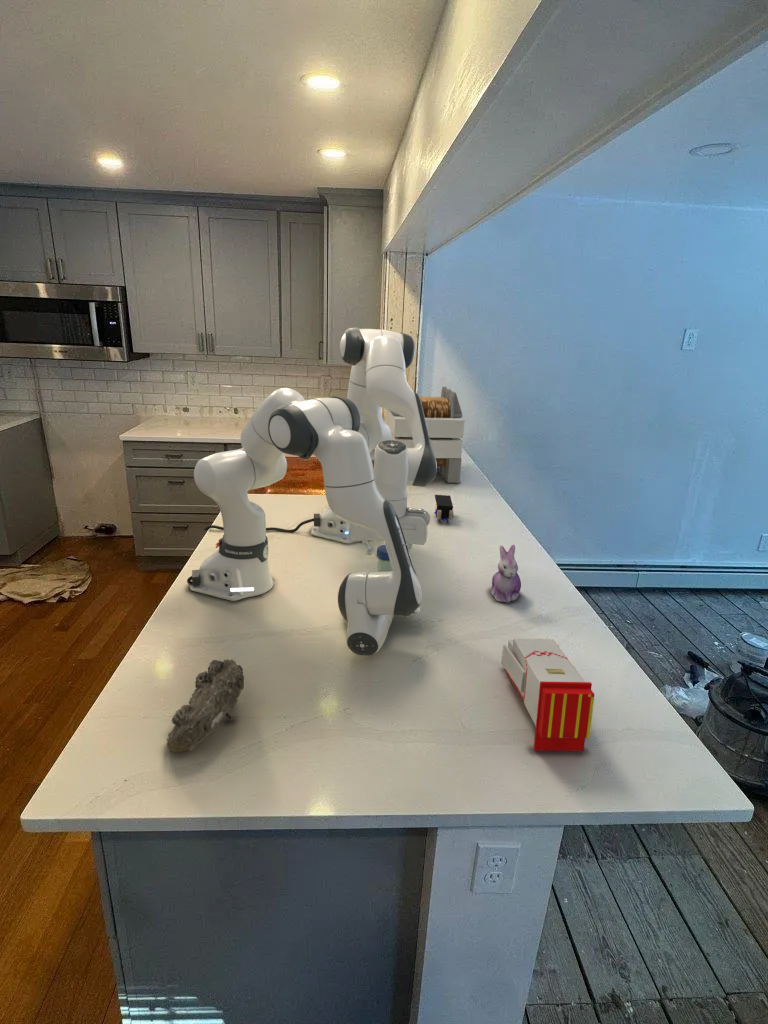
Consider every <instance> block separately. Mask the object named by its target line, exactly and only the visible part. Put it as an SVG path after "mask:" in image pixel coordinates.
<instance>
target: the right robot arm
mask: <svg viewBox="0 0 768 1024" xmlns="http://www.w3.org/2000/svg"><path fill="white" fill-rule="evenodd" d="M339 352H340V355H341V359H342V361H343V362H344V363H346V364H348V365H351V367H350V372H349V380H348V386H347V387H348V388H347V395H346V398H347V399H349V400H351V401H352V402H353V403H354V404H355V405H356V407H357V409H358V411H359V414H360V428H359V431H358V432H359V433H360V434H362V435H363V436H364V438H365V440H366V442H367V445H368V448H369V452H370V455H371V459H372V464H373V469H374V476H375V482H376V486H377V489H378V491H379V493H380V494H381V496H382V497H383V498H384V500H386V501H388V502H390V503H391V504H392V505H393V507H394V509H395V511H396V513H397V516H398V519H399V522H400V525H401V528H402V531H403V535H404V538H405V541H406V545H407V548H408V552H409V553H410V552H411V550H412V549H413V546H414V545H415V546H416V545H417V546H424V545H425V544H426V543H427V541H428V526H429V524H430V522H431V514H430V513H429V512H428V511H427V510H425V508H415V507H408V490H407V486H414V487H415V486H416V487H422V488H423V487H426V486H428V485H430V483H432V482H433V481H434V480H435V479H436V477H437V472H438V468H437V463H436V459H435V456H434V452H433V449H432V446H431V442H430V438H429V434H428V429H427V425H426V420H425V416H424V412H423V408H422V404H421V401H420V398H419V397H420V395H419V393H418V392H416V391H414V390H413V389H412V388H411V386H410V384H409V383H408V380H407V370H406V369H408V368H409V367H411V365H412V364H413V361H414V358H415V356H416V345H415V340H414V338H413V336H411V335H410V334H407V333H404V332H397V331H392V330H388V329H382V328H379V329H376V328H359V327H350V328H347V329H346V330H345V331H344V332H343V333H342V336H341V339H340V341H339ZM382 409H385V410H386V411H387V410H390V411H392V412H395V413H397V414H399V415H401V416H403V417H404V418H405V419H406V420H407V421H408V422H409V425H410V429H411V433H412V438H413V442H414V447H415V448H407V446H406V445H405V444H404V443H402V442H399V441H395V440H392V433H391V430H390V428H389V427H388V425H387V423H386V421H385V420H384V419H383V414H382ZM312 522H313V526H312V528H311V530H310V533H311V536H315V537H319V538H323V539H326V540H330V541H336V542H339V543H343V544H352V543H357V542H361V544H362V545H363V547H364V549H365V555H366V556H372V555H373V553H374V552H373V551H374V547H373V546H370V544H369V541H372V542H373V541H374V542H375V541H376V542H384V541H383V539H382V538H381V537H380V536H379V535H378V534H377V533H375V532H373V531H371V530H369V529H367V528H364V527H361V526H358V525H354V524H351V523H348V522H346V521H344V520H342V519H340V518H339V517H338V516H336V515H335V514H334V513H333V512H332V511H331V509H330V508H329V507H328V508H326V509H325V510H323V512H321V514H320V513H313V518H310V519H306V520H304V521H301V522H300V523H298V525H297V526H296V527H295V528H293V529H292V528H291V529H284V528H281V527H272V526H271V527H266V532H267V531H276V532H282V533H295V532H297V531H298V530H299V529H300V528H301V527H302V526H304V525H306V524H309V523H312ZM210 529H216V530H220V531H224V528H223V526H220V525H214V524H211V525H208V526H206V527H205V528H204V529H203V531H209V530H210Z"/></svg>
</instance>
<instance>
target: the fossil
mask: <svg viewBox="0 0 768 1024" xmlns="http://www.w3.org/2000/svg"><path fill="white" fill-rule="evenodd" d="M243 670H244V669H243V667H242V665H240V664H237V662H236V661H235V660H234V659H232V658H231V659H227V658H226V659H224V660H223V661H222V660H217V659H212V660H211V661H210V663H209V665H208V666H207V671H201V672H199V673H198V674H197V675H196V676H195V680H194V684H195V685H194V687H195V689H194V690H193V693H192V694H191V697H190V698H189V700H188V704H184V705H182V706H181V707H180V709H177V710H176V711H175V713H174V715H173V716H172V718H171V723H172V724H173V727H172V730H171V731H170V732H168V734H167V738H166V741H167V742H166V745H167V749H168V750H169V751H173V752H174V753H176V754H178V753H182V752H188V751H189V752H192V751H193V750H195V748H196V747H197V746H199V744H200V743H201V742H203V741H204V740H205V739H206V738H207V737H208V736H209V735H210V734H211V733H212V732H214V730H215V729H217V727H218V726H219V724H220V722H221V721H222V720H223V719H224V718H225V716H226V717H227V719H229V720H233V717H232V715H230V714H229V710H230V709H231V708H234V706H235V704H236V703H237V702H238V699H239V697H240V695H241V693H242V691H243V690H245V689H244V688H245V675H244V671H243Z"/></svg>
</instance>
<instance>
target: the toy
mask: <svg viewBox="0 0 768 1024" xmlns="http://www.w3.org/2000/svg"><path fill="white" fill-rule="evenodd" d="M500 661H501V662H500V663H501V664H502V666H503V668H504V671H505V673H506V674H507V676H508V678H509V679H510V681H511V684H512V685H513V686H514V688H515V691H517V693H518V695H519V696H520V699H521V700H522V702H523V704H524V706H525V708H526V711H527V712H528V714H529V716H530V718H531V720H532V723H533V724H534V726H535V731H534V741H533V750H534V751H554V752H555V751H556V752H557V751H558V752H564V751H565V752H584V751H585V743H586V739H590V737H591V736H590V735H591V727H592V718H593V710H594V702H595V692H593V690H592V685H593V684H592V682H590V681H585V679H584V678H583V676H582V675H581V674H580V673H579V672H578V670H577V669H576V668H575V666H574V665H573V663H572V662H571V661H570V659H569V658H568V657H567V655H566V654H565V653H564V651H563V650H562V649H561V648H560V646H559V644H558V643H557V642H556V640H554V638H517V637H515V638H512V639H508V643H507V644H503V647H502V653H501V660H500Z"/></svg>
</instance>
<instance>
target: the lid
mask: <svg viewBox="0 0 768 1024" xmlns="http://www.w3.org/2000/svg"><path fill="white" fill-rule="evenodd" d="M376 557H377V559H378V558H380V559H382V560H390V559H389V556H388V552H387V549H386V546H385V544H381V545H378V546H377V548H376Z"/></svg>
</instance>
